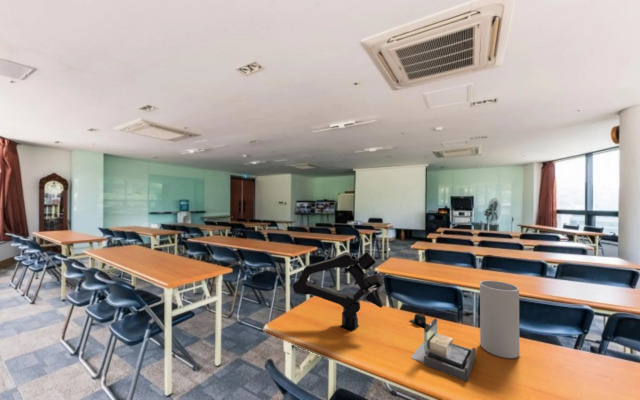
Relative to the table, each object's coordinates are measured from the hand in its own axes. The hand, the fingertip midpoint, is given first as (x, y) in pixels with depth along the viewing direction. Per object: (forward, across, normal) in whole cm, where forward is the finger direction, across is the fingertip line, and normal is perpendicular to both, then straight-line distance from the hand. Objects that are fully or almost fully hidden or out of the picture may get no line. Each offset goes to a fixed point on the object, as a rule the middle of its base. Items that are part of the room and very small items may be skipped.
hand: (381, 307), depth 109 cm
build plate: (+16, +23, +3) cm, 28 cm away
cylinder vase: (+37, +20, -19) cm, 46 cm away
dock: (+27, 0, -8) cm, 28 cm away
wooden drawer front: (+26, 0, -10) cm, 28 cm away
